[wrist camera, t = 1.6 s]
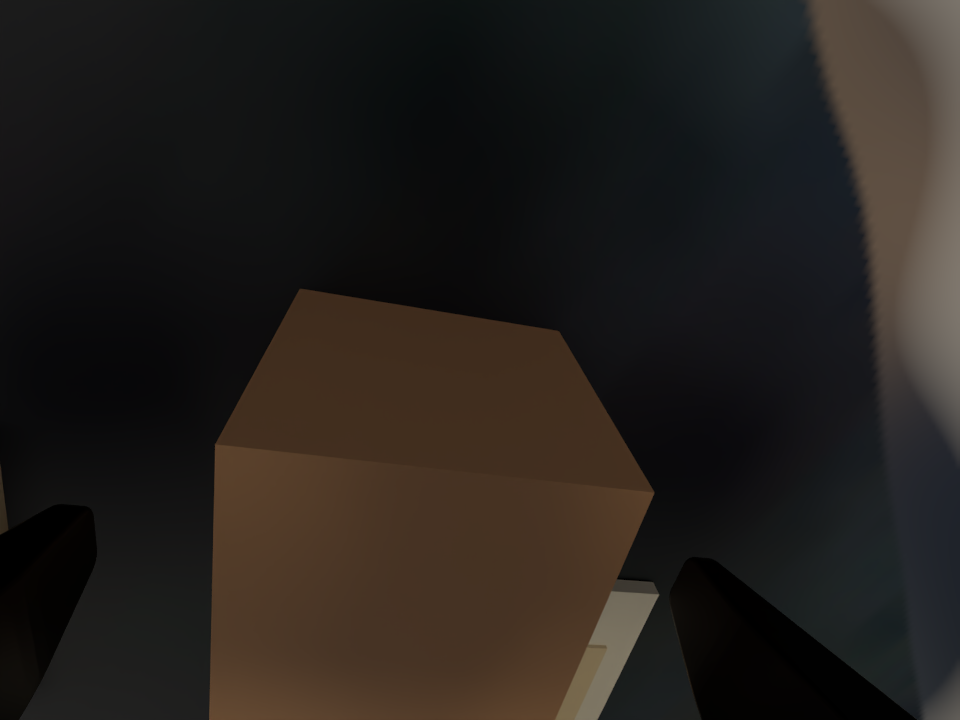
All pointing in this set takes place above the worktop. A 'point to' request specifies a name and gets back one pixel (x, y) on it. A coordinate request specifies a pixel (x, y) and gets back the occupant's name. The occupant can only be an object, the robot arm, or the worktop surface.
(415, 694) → the terracotta cube
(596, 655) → the card
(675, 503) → the worktop surface
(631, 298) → the worktop surface
